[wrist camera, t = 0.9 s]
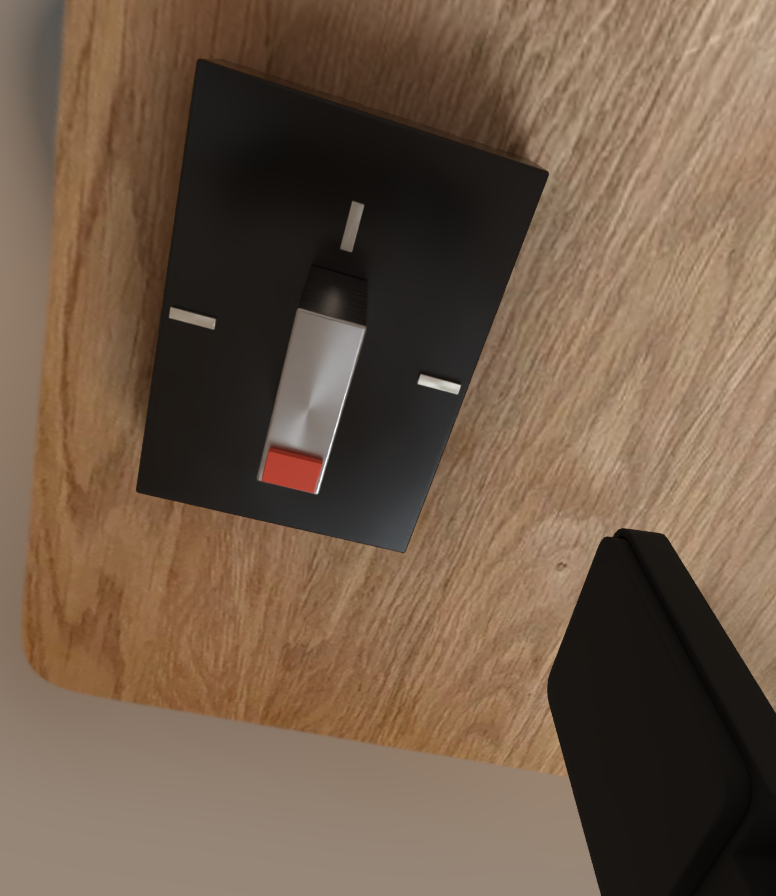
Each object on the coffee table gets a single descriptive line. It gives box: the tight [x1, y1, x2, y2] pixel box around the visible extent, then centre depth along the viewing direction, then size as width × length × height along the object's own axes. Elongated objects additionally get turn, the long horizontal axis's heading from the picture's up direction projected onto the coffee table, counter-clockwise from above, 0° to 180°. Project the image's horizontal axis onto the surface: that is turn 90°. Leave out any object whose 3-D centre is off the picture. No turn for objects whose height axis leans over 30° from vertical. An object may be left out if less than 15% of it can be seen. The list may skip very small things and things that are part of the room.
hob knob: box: [257, 266, 368, 494], centre depth 20 cm, size 5×2×4 cm, turn 164°
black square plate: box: [136, 59, 549, 553], centre depth 23 cm, size 14×10×3 cm
